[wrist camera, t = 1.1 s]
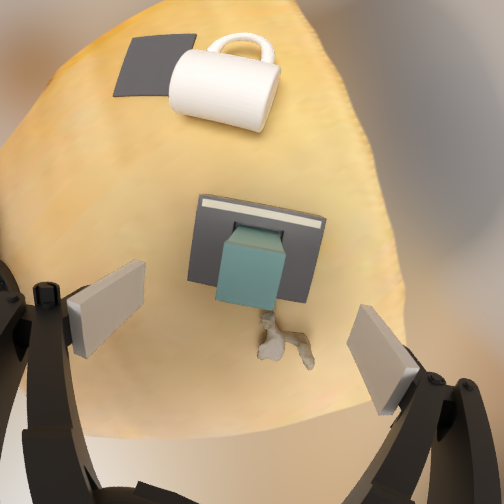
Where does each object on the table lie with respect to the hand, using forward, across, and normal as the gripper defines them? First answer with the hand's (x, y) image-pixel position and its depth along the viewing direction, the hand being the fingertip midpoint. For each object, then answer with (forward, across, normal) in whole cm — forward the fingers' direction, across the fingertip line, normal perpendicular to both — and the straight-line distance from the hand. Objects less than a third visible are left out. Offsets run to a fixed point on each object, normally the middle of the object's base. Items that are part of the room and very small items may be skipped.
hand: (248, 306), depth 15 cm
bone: (+18, +4, -11) cm, 22 cm away
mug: (+18, -6, +19) cm, 27 cm away
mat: (+18, -18, +22) cm, 34 cm away
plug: (+17, 0, 0) cm, 17 cm away
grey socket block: (+18, 0, 0) cm, 18 cm away
